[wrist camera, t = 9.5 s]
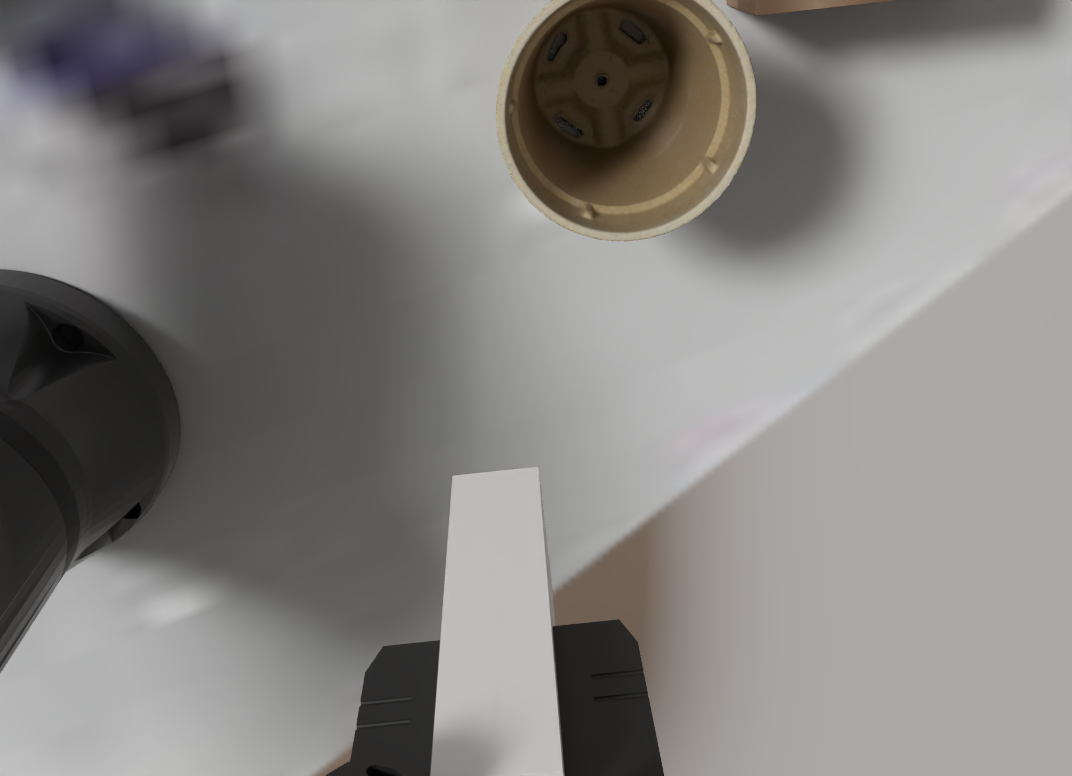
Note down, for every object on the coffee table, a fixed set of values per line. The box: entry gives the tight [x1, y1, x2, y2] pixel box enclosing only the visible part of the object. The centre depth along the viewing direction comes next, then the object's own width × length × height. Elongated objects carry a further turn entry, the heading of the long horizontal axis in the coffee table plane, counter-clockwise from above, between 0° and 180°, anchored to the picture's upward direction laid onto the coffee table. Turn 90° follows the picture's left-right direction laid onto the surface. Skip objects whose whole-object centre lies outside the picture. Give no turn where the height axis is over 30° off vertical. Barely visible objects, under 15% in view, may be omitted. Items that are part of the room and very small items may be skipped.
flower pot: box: [496, 0, 757, 241], centre depth 38 cm, size 9×9×9 cm
